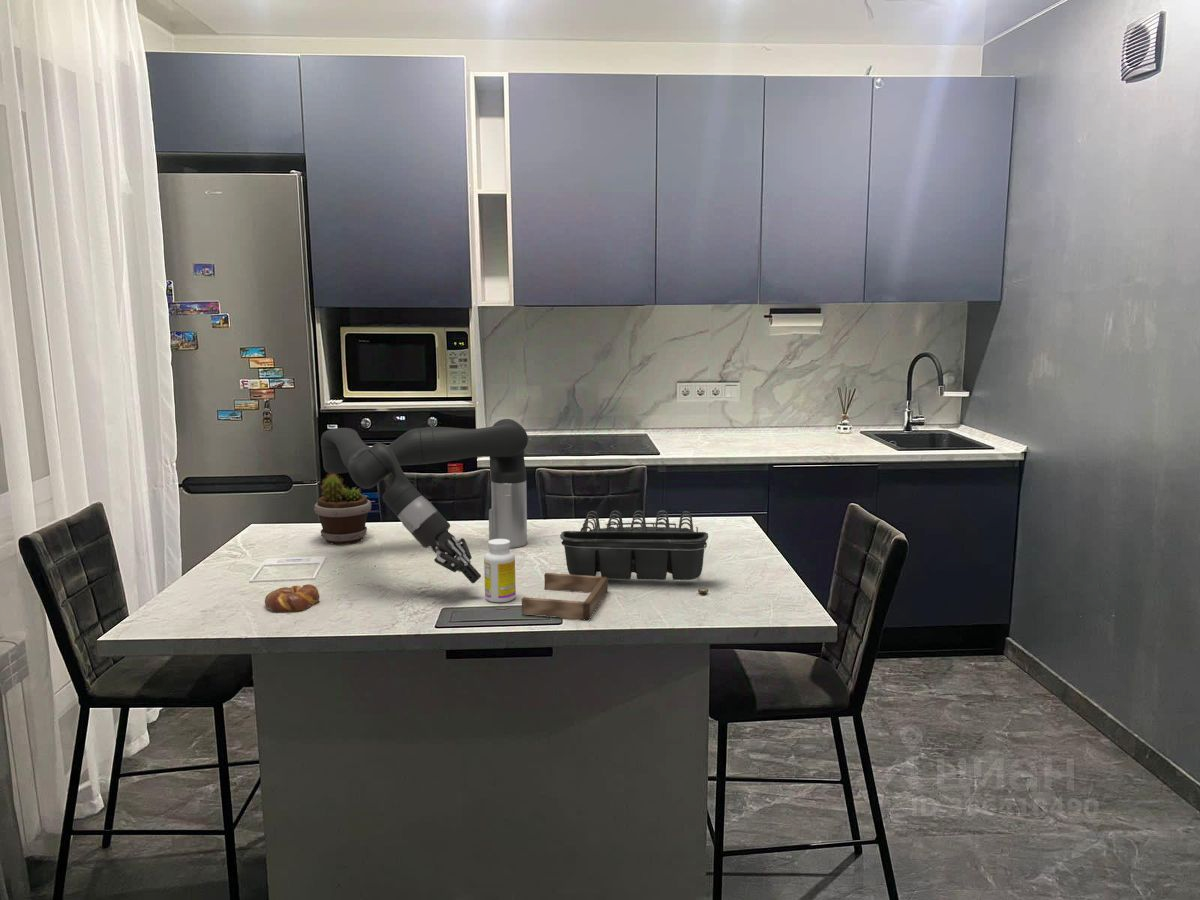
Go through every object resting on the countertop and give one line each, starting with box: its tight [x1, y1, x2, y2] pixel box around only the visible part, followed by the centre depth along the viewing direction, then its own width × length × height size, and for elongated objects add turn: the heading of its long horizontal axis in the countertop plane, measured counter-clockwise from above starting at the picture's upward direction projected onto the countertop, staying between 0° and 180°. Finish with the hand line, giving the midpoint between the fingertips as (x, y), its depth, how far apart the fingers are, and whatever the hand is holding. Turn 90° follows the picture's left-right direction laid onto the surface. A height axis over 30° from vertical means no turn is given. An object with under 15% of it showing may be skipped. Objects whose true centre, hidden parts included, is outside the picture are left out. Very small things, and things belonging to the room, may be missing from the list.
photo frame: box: [248, 555, 327, 584], centre depth 214 cm, size 15×1×18 cm
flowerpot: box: [313, 473, 372, 546], centre depth 239 cm, size 14×15×20 cm
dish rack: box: [559, 510, 709, 581], centre depth 222 cm, size 34×44×12 cm
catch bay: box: [521, 572, 609, 621], centre depth 191 cm, size 14×18×4 cm
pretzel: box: [264, 583, 320, 613], centre depth 190 cm, size 12×11×4 cm
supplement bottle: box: [483, 539, 517, 603], centre depth 193 cm, size 7×7×13 cm
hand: (477, 580), depth 194 cm, fingers closed
